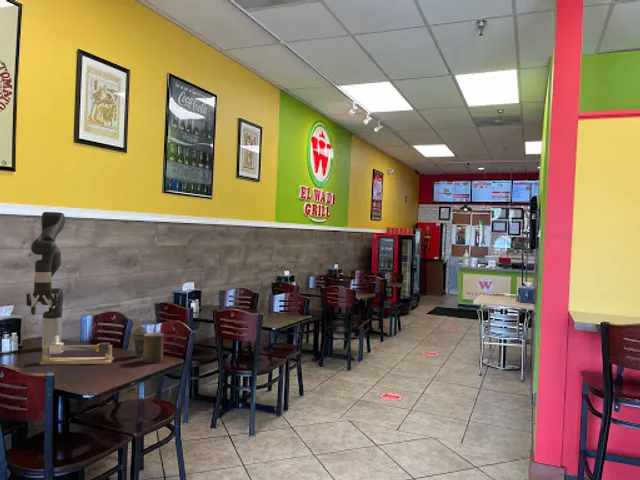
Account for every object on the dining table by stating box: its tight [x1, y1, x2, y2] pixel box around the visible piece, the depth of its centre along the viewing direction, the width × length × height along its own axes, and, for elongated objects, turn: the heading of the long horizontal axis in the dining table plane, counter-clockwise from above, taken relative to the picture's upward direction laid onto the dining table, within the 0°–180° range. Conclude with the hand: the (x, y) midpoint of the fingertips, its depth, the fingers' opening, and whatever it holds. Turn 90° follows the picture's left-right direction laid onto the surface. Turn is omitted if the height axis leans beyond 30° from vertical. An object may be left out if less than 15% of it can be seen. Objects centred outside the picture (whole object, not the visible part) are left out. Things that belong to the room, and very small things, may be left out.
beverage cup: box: [133, 318, 148, 358], centre depth 258 cm, size 7×7×20 cm
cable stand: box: [39, 341, 114, 365], centre depth 243 cm, size 8×32×9 cm, turn 101°
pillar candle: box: [142, 332, 164, 364], centre depth 249 cm, size 10×10×15 cm
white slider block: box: [49, 336, 64, 355], centre depth 241 cm, size 5×5×8 cm
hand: (41, 314), depth 240 cm, fingers open, 7 cm apart
